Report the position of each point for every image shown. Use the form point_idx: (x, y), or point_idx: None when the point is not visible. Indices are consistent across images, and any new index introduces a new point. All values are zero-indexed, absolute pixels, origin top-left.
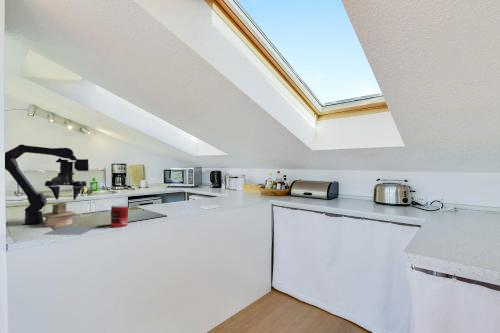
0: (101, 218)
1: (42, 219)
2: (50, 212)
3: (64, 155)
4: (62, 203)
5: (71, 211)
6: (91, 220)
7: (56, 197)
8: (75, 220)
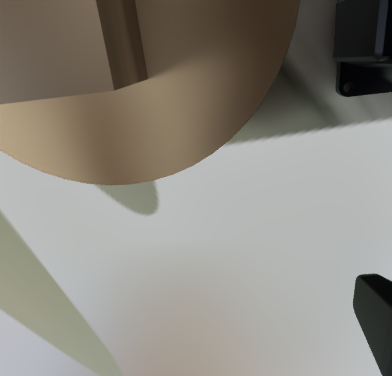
0: (5, 301)
1: (345, 52)
2: (279, 57)
3: None
4: (4, 24)
5: (77, 177)
6: (13, 230)
7: (384, 302)
8: (136, 212)
